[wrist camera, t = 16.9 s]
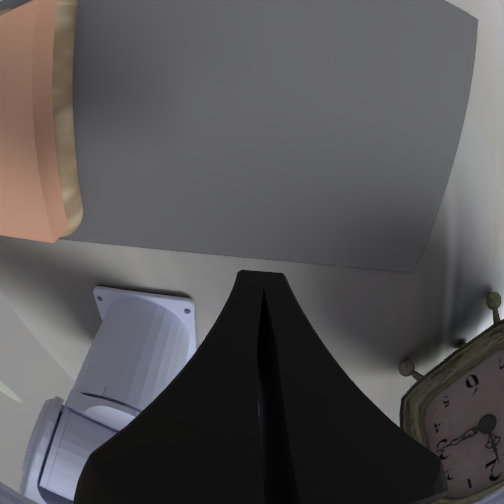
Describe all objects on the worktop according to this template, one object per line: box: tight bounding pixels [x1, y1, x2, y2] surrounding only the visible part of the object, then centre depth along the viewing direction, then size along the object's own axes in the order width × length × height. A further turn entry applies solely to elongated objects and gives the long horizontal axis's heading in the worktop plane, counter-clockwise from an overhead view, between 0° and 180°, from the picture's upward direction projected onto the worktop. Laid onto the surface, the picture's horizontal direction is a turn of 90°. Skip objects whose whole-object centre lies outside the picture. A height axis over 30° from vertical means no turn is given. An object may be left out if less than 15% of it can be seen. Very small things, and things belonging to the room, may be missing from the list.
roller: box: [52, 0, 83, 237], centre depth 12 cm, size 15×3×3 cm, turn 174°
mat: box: [0, 0, 478, 272], centre depth 14 cm, size 18×40×1 cm, turn 84°
